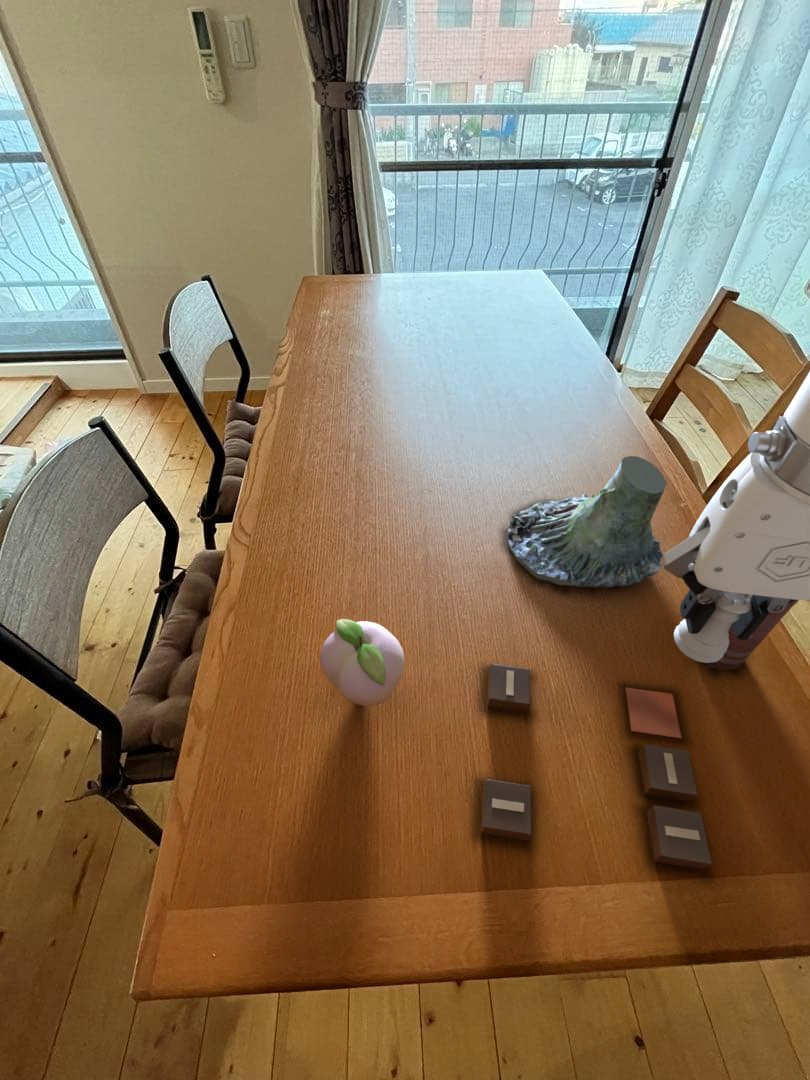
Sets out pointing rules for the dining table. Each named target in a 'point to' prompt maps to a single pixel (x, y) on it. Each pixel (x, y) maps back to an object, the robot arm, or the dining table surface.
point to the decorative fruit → (362, 661)
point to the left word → (501, 800)
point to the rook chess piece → (713, 629)
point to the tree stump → (594, 532)
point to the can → (747, 641)
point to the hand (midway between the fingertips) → (713, 622)
